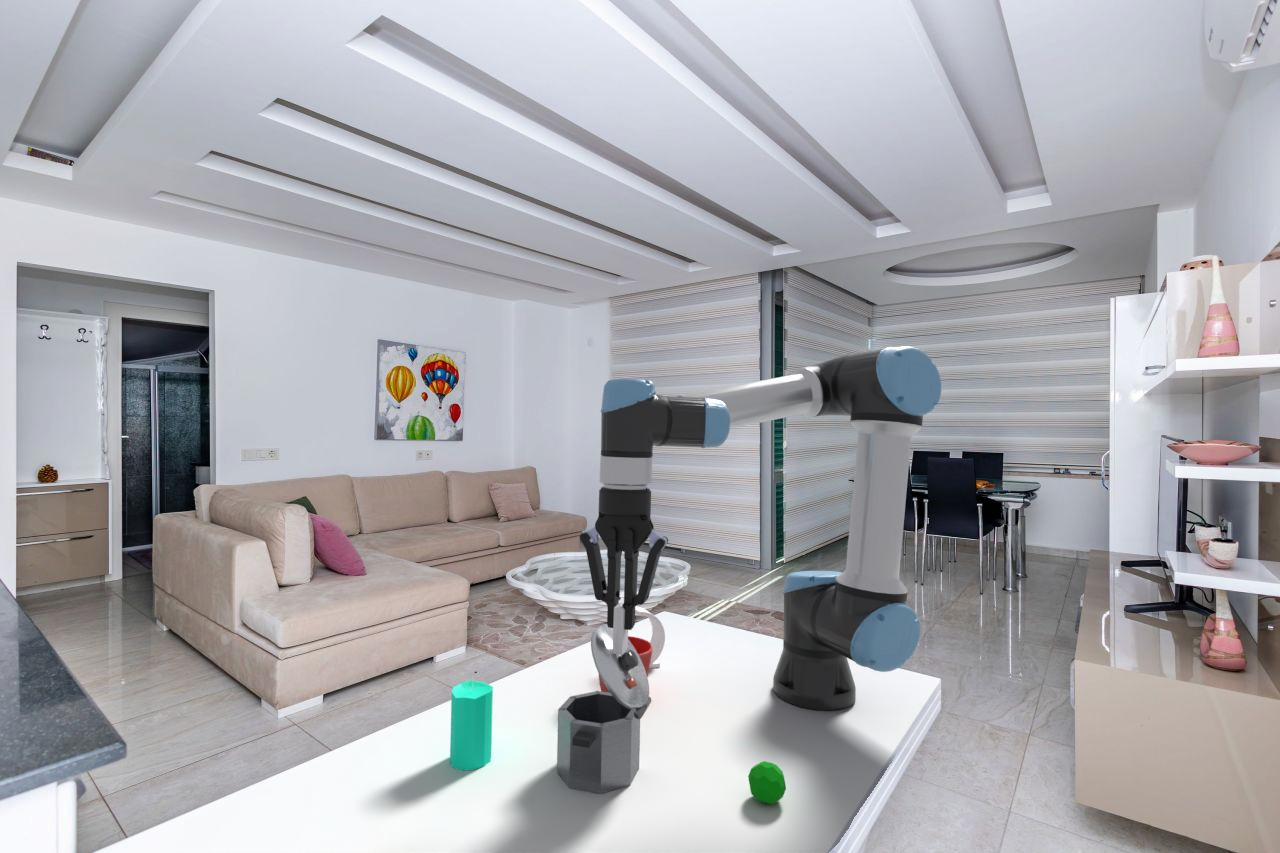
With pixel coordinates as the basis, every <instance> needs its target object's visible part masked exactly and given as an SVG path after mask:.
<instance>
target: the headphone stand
mask: <svg viewBox="0 0 1280 853" xmlns="http://www.w3.org/2000/svg"><path fill="white" fill-rule="evenodd" d="M635 615H637V616H639V617H647V619H649V622H650V623H651V624H650V625H651V631H652V632H651V633H652V635H651V639H650V641H649V642H650V643H651V644H652V647H653V650H652V657H651V662H650V667H649V670H651V669H657V668H661V663H660V662H659V661H658V658H659V657H660V656H661V654H662V653H663V652H662V651H663V650H664V647H665V641H666V633H665V629H664V625H663V623H662V622H661V620H660V619H659V618H658V617H657V616H655V615H654V614H653V613H651V612H650V611H648V610H647V609H646V608H643V607H640V606H638V605H636V607H635Z"/></svg>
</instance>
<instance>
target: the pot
mask: <svg viewBox="0 0 1280 853" xmlns="http://www.w3.org/2000/svg"><path fill="white" fill-rule="evenodd" d="M635 711H636V710H631V709H628V708H626V707H624V706H623V705H622V704H620V703H619V702H618V701H617V700H616V699H615V698H614V697H613V696H612V694H611V693H609V692H602V691H601V690H595V691H591V692H586V693H581V694H575V695H571V696H569V697H568V698H567V699H566V700H565V701H564V702H563V704H562V705H561V706H560V707H559V708H558V709H557V746H556V749H557V750H556V773H557V774H558V775H559V777H560V778H561V780H563V782H564V783H565V784H566V786H567V787H568V789H571V790H572V789H573V790H577V791H582V792H583V791H584V792H588V793H593V794H600V795H602V794H606V793H609V792H612V791H616V790H619V789H623V788H627V787H629V786H631V784H632V782H633V780H634V779H635V777H636V775H637V773H638V771H639V770H640V747H641V746H640V744H641V743H640V742H641V719H636V718H635V717H634V712H635Z"/></svg>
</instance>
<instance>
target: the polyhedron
mask: <svg viewBox="0 0 1280 853" xmlns="http://www.w3.org/2000/svg"><path fill="white" fill-rule="evenodd" d="M747 777H748V783H749V789H750V794H751V795H752V796H753V798H754V799H755V800H756V801H758V802H760V803H763V804H766V805H774V804H775V803H777V802H779V801H780V800H782V799H783V798H784V795H785V792H786V790H787V788H786V787H787V786H786V780H785V776H784V772H783V770H782V769H781V768H780V767H779V766H778V765H777V764H776V763H773V762H769V761H761V762H760V761H759V763H757V764H755V765H754V766H753V767H752V768H750V770H749V773H748V776H747Z"/></svg>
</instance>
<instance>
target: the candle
mask: <svg viewBox="0 0 1280 853" xmlns="http://www.w3.org/2000/svg"><path fill="white" fill-rule="evenodd" d="M493 692H494V686H492V685H490V684H488V683H486V682H482V681H478V680H474V678H473V677H472V679H470V680H467V681H464V682H461V683H459V684H457V685H455V686H453V687H452V690H451V697H450V698H451V702H450V704H451V705H450V740H449V741H450V742H449V743H450V745H449V746H450V748H449V753H450V754H449V764H450V765H451V766H452V768H454V769H456V770H460V771H470V770H471V771H474V770H478V769H481V768H483V767H485V766H487V764H490V762H491V760H492V750H493V749H492V744H493V743H492V742H493V741H492V740H493V736H492V735H493V702H494V700H493V697H494V693H493Z"/></svg>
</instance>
